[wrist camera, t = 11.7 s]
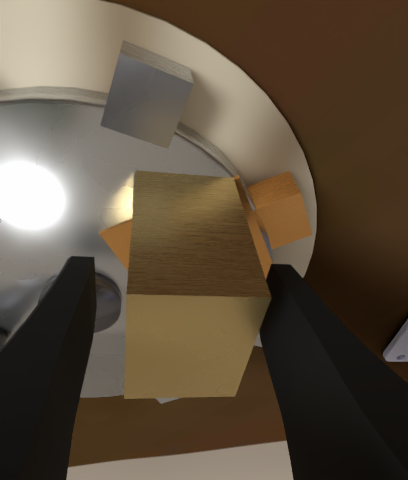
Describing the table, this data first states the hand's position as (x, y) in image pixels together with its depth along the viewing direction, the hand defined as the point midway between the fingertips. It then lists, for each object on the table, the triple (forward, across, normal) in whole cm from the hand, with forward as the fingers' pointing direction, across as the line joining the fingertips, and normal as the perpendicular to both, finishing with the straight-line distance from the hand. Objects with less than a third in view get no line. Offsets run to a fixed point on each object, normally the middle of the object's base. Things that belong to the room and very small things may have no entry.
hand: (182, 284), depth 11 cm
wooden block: (+2, 0, 0) cm, 2 cm away
